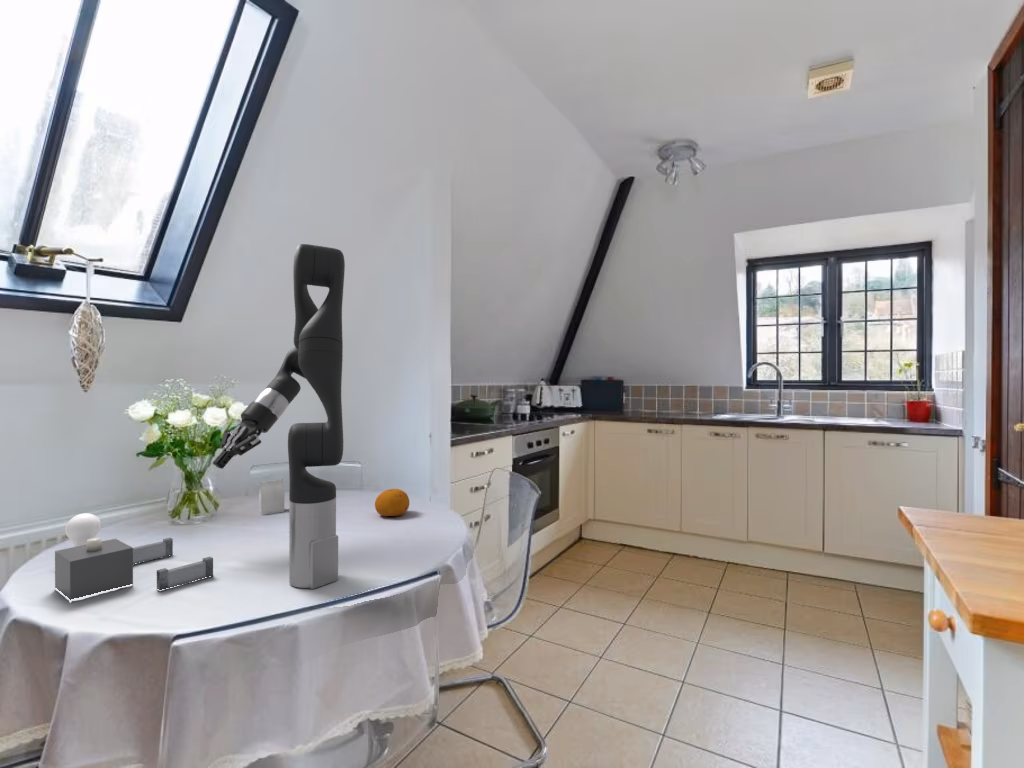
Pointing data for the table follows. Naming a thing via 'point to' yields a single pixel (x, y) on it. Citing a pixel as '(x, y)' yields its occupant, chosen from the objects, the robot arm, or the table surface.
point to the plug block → (93, 567)
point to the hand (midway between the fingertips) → (217, 466)
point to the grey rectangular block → (271, 497)
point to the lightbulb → (82, 528)
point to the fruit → (392, 502)
